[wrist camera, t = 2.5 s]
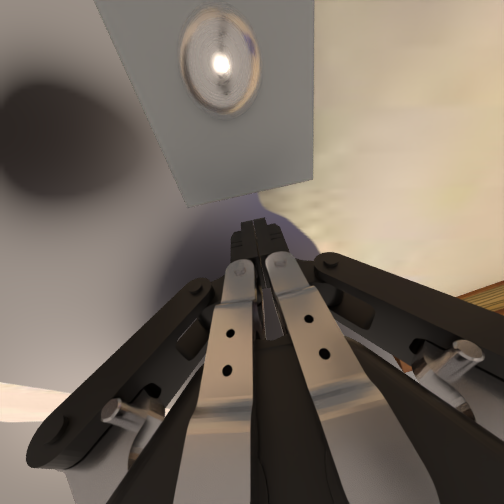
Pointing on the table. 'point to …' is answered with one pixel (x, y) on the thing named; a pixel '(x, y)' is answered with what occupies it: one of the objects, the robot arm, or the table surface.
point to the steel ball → (219, 60)
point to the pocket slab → (223, 130)
